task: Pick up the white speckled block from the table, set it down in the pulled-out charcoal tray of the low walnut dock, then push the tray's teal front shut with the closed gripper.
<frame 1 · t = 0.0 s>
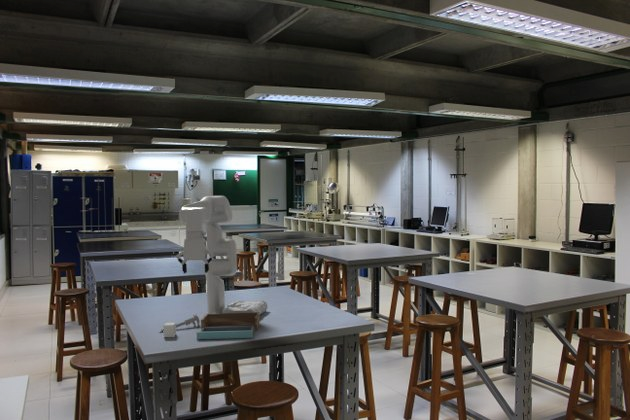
hand: (195, 272, 227), 31 cm above the table, tool pointing down, fingers open, 9 cm apart
white folded cloth: (246, 315, 275), on the table
tray: (226, 331, 235), point 2 cm above the table, slide at 12.0 cm
caliper: (179, 329, 249), on the table
white speckled block: (170, 336, 236), on the table
dock: (231, 327, 249), on the table
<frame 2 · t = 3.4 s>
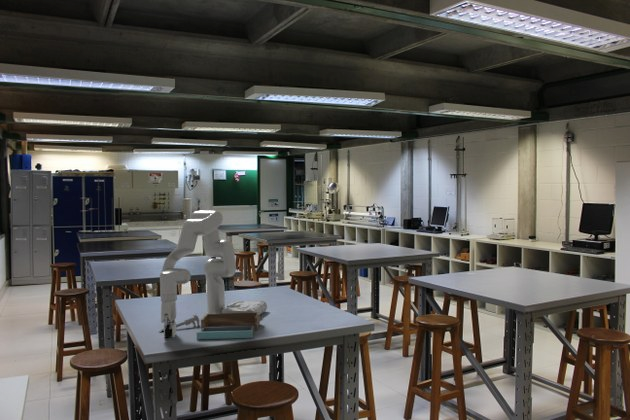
hand: (170, 335, 236), 1 cm above the table, tool pointing down, fingers closed on white speckled block, 4 cm apart
white speckled block: (170, 336, 236), on the table, touching gripper
everything else where it was.
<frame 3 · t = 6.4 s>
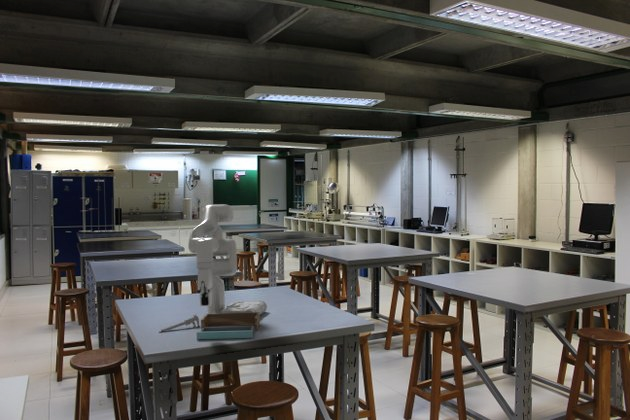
hand: (206, 303, 235), 15 cm above the table, tool pointing down, fingers closed on white speckled block, 4 cm apart
white speckled block: (206, 304, 235), point 15 cm above the table, touching gripper
when the fingers open (3 cm above the table, at t = 9.7 s): white speckled block drops 2 cm, resting on tray.
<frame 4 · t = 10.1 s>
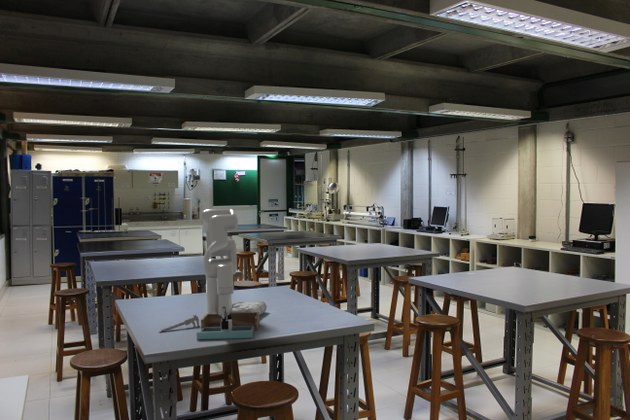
hand: (226, 326, 235), 4 cm above the table, tool pointing down, fingers open, 8 cm apart
tray: (226, 331, 235), point 2 cm above the table, slide at 12.0 cm, touching white speckled block
white speckled block: (226, 333, 236), point 1 cm above the table, touching tray
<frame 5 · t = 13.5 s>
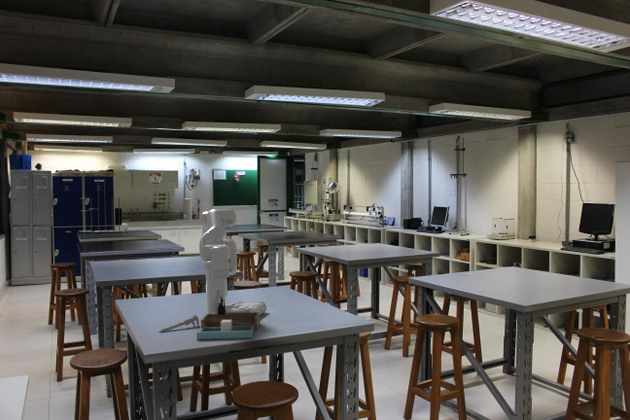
hand: (221, 314, 223), 13 cm above the table, tool pointing down, fingers closed
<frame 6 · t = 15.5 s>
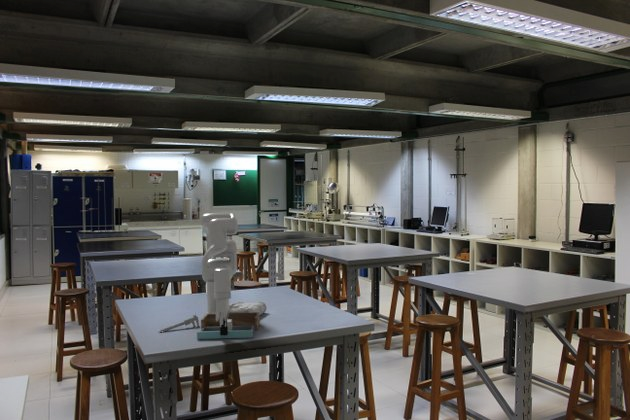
hand: (224, 334, 228), 2 cm above the table, tool pointing down, fingers closed
tray: (226, 331, 236), point 2 cm above the table, slide at 11.5 cm, touching white speckled block, gripper
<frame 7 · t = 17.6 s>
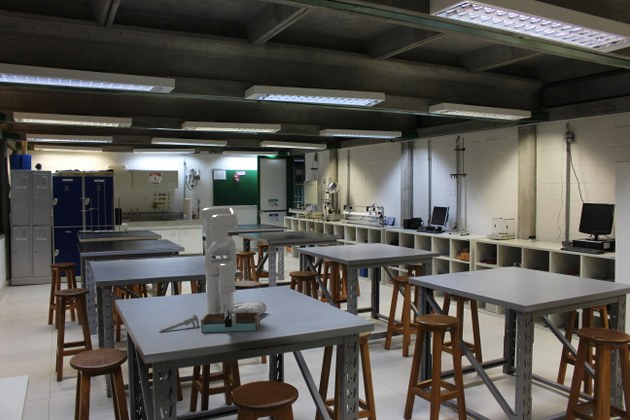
hand: (228, 326, 240), 3 cm above the table, tool pointing down, fingers closed
tray: (230, 324, 247), point 2 cm above the table, slide at -0.1 cm, touching white speckled block, gripper
white speckled block: (230, 326, 248), point 1 cm above the table, touching tray
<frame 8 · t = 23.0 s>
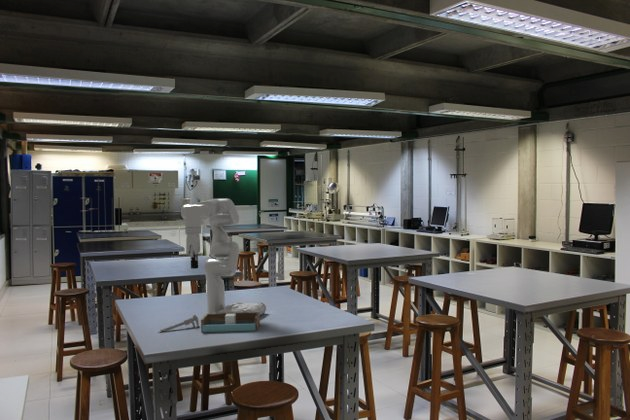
hand: (194, 268, 242), 31 cm above the table, tool pointing down, fingers closed
tray: (230, 324, 247), point 2 cm above the table, slide at 0.0 cm, touching white speckled block
at the end: tray slide at 0.0 cm; white speckled block inside the target area (0.2 cm from its centre), point 0.8 cm above the table; white speckled block tilted 0° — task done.
